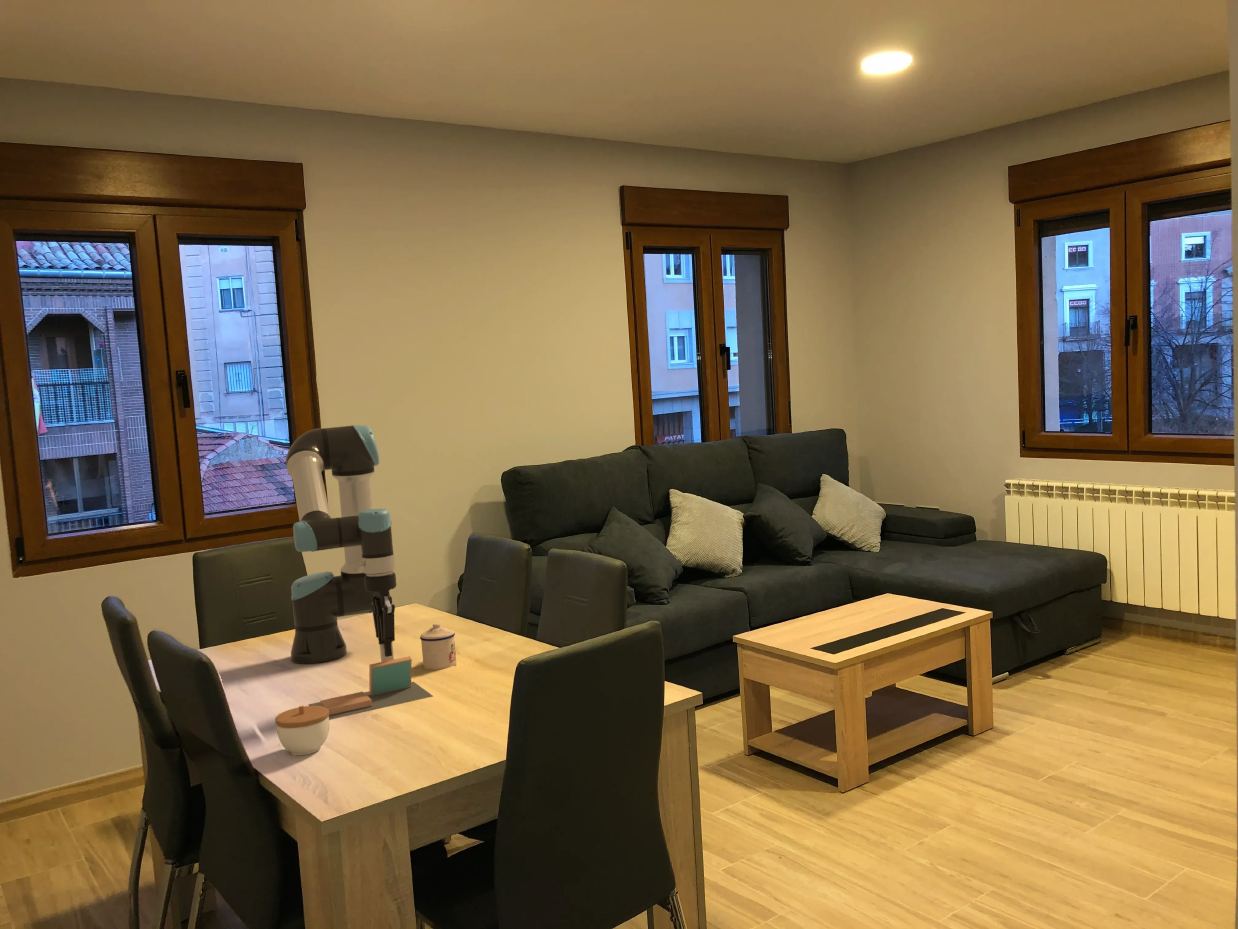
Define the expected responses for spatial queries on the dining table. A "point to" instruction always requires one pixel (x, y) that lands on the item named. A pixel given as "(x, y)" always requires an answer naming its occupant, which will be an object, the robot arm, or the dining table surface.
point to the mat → (387, 699)
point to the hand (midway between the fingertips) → (388, 668)
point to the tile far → (390, 675)
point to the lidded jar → (303, 729)
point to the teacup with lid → (438, 648)
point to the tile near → (346, 703)
